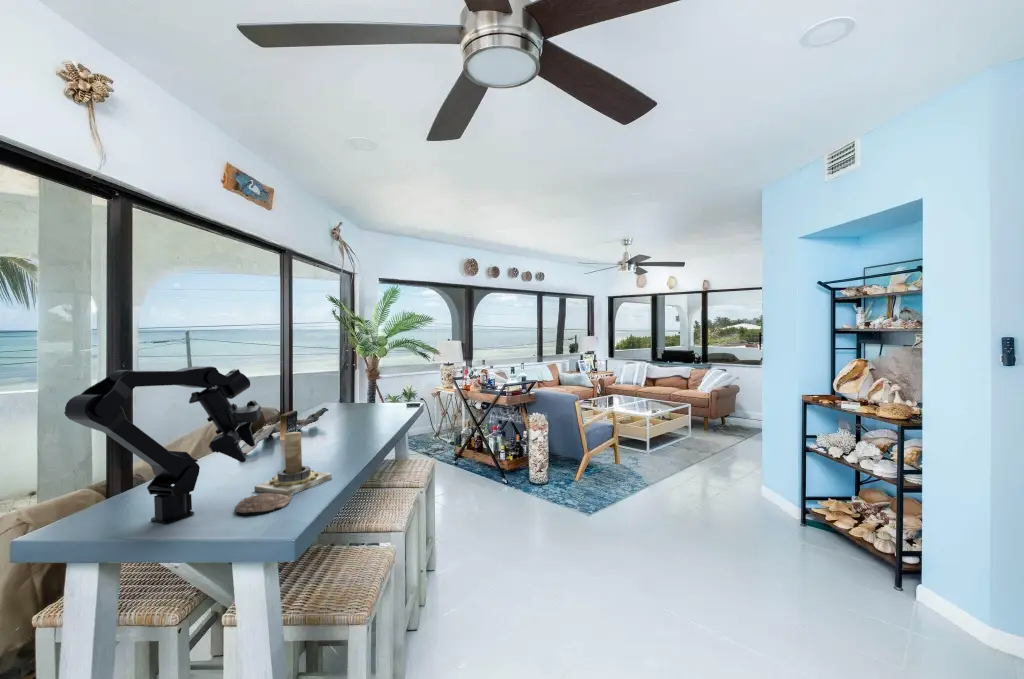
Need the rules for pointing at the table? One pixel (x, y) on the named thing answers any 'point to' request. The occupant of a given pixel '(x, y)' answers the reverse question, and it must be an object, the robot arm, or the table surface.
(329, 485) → the table surface
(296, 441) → the oak axle
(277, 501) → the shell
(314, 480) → the gear board
